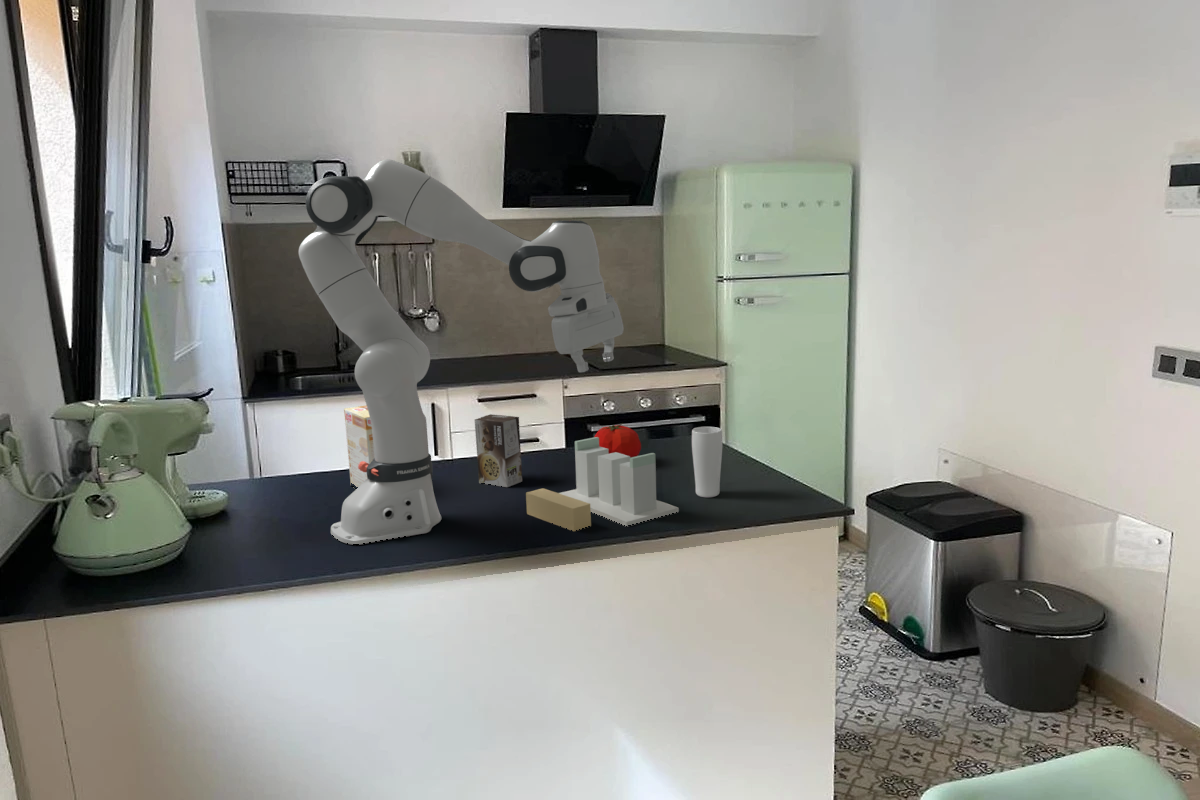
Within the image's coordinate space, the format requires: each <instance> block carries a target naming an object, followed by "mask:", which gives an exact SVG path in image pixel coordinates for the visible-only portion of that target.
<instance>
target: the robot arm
mask: <svg viewBox="0 0 1200 800" xmlns="http://www.w3.org/2000/svg"><path fill="white" fill-rule="evenodd" d="M305 209H306V212H307V215H308V216H309V218H310V220H311V222H313V224H314V225H315V226H316V228H315V230H314V231H313V232H312V233H310V234H309V235H307V236H306V237H305V238H304V239H303V240H302V242H301V243H300V245H299V247H298V257H299V260H300V262H301V266H302V268H303V270H304V273H305V274H306V277H307V278H308V281H309V283H310V284H311V286H312V288H313V290H314V291H315V294H316V295H317V296H318V298H319V299H320V301H321V303H322V305H323V306H324V307H325V309H326V310H327V312H328V314H329V315H330V317H331V319H333V321H334V323H335V325H336V327H337V328H338V330H340V331H341V332H342V333H343V334H344V335H346V336H347V337H349V339H351V341H353V343H354V344H356V346H357V347H358V348H359V349H360V350H361V351H362V353H361V355H360V356H359V358H358V359H357V361H356V363H355V367H354V379H355V381H356V383H357V386H358V387H359V388H360V390H362V394H363V397H364V398H363V399H364V401H365V404H366V405H367V408H368V412H369V415H370V420H371V425H372V434H373V445H374V456H375V458H374V459H373V461H372V462H371V463H370V464H368V463H366V462H365V461H362V462H360V464H358V469H360V470H361V471H363V472H367V479H366V480H365V481H364V482H363V483H362V484H361V485H360V486H359V487H358V488H357V489H355V490H354V491H352V493H350V494H349V495H348V496H347V497H346V498H345V499H344V501H343V502H342V505H341V515H340V521H338V522H335V523H333V524H332V525H331V526H330V534H331V536H332V535H333V536H334V537H333V536H332V537H333V538H334V539H336V540H337V539H338V540H337V541H340V542H341V543H344V544H347V543H348V545H353V544H359V545H364V544H363V543H365V544H369V542H371V543H376V542H375V541H377V542H381V541H380V540H383V541H387V540H386V539H388V540H392V538H394V539H399V538H398V537H400V538H403V537H404V536H406V537H410V536H416V535H421V534H422V535H423V534H427V533H430V532H431V531H432V528H433V527H434V526H436V525H437V524H439V523H440V522H441V520H442V515H441V514H440V510H439V508H438V504H437V501H436V496H435V493H434V487H433V481H432V480H433V462H432V455H431V453H430V452H429V440H428V439H429V437H428V424H427V418H426V415H425V413H424V412H423V408H422V404H421V401H420V397H419V394H418V393H419V392H418V387H417V386H418V385H417V384H418V383H419V382H420V381H421V380H423V379H424V377H425V376H426V375H427V373H428V370H429V367H430V363H431V354H430V350H429V348H428V346H427V345H426V344H425V343H424V341H423V340H421V339H420V338H418V337H417V335H416V334H415V332H413V330H412V329H411V328H410V327H409V325H408V324H407V323H406V321H405V320H404V319H403V318H402V317H401V316H400V315H399V314H398V313H397V311H396V310H395V308H393V307H392V305H391V304H390V303H389V301H388V300H387V299H386V297H385V295H384V294H383V291H382V290H381V289H380V287H379V285H378V284H377V283H376V280H374V278H373V276H372V275H371V273H370V272H369V270H368V268H367V267H366V265H365V264H364V262H363V260H362V259H361V257H360V256H359V253H358V251H357V248H356V245H358V244H359V243H360V242H361V241H362V240H363V239H364V237H366V235H367V234H368V233H369V232H370V231H371V229H372V228H374V227H375V225H376V223H377V221H378V219H379V216H383V217H387V218H390V219H391V220H394V221H395V222H397V223H400V224H401V225H403V226H404V227H406V228H408V229H410V230H411V231H413V232H416V233H417V234H421V235H422V236H425V237H428V238H430V239H434V240H436V241H440V242H441V241H442V242H450V243H451V242H452V243H458V244H459V243H460V244H464V245H468V246H470V247H473V248H475V249H478V250H480V251H481V252H483V253H485V254H487V255H489V256H490V257H492V258H494V259H496V260H498V261H499V262H502V263H503V264H506V265H507V266H508V271H509V272H508V273H509V276H510V279H511V280H512V282H513V283H514V284H515V285H516V286H517V287H518V288H519V289H521V290H523V291H526V292H530V293H535V292H536V293H538V292H542V291H545V290H547V289H549V288H551V287H553V286H555V285H559V288H560V289H559V290H560V293H561V294H560V295H558V297H557V298H556V299H555V300H554V301H553V302H552V303H551V304H549V306H548V307H547V311H548V315H549V316H550V317H551V318H552V319H551V331H552V338H553V343H554V346H555V349H556V351H557V353H558V354H559V355H568V354H569V355H570V357H571V359H572V360H573V362H574V363H575V365H576V369H577V373H586V372H588V371H589V363H588V361H586V360H585V359H584V357H583V355H584V351H583V350H584V349H587V348H590V347H592V346H595V345H598V344H601V343H602V344H603V345H604V348H603V353H601V354H602V355H601V356H602V358H603V359H602V360H603V362H605V363H606V362H612V361H613V360H614V358H615V357H614V356H615V355H614V350H615V349H614V348H615V343H616V342H615V338H616V337H620V336H622V335H623V333H624V330H625V329H624V322H623V319H622V314H621V311H620V308H619V305H618V303H617V302H616V300H615V297H614V296H613V295H612V294H610V293H609V292H606V289H605V283H604V278H603V276H602V274H601V272H600V271H601V270H600V262H601V261H600V255H599V249H598V245H597V241H596V237H595V234H594V231H593V229H592V227H591V226H590V224H588V223H587V222H585V221H583V220H571V219H570V220H568V219H567V220H562V219H561V220H555V221H554V222H552V224H551V225H550V226H549V227H548V228H547V229H546V230H545V231H544V232H542V233H541V234H540V235H538V236H537V237H535V238H534V239H532V240H529V239H525V238H522V237H520V236H518V235H516V234H515V233H512V232H510V231H509V230H507V229H505V228H503V227H502V226H500V225H498V224H496V223H494V222H492V221H491V220H490V219H487V218H485V216H482V215H481V214H480V212H478V211H477V210H476V209H474V208H473V207H472V206H471V205H469V203H468V202H467V201H466V200H464V199H463V198H462V197H461V196H460V195H458V194H457V193H456V192H455V191H453V190H452V189H451V188H449V187H448V186H447V185H445V184H444V183H442V182H441V181H439V180H438V179H436V178H434V177H432V176H431V175H428V174H427V173H425V172H423V171H421V170H419V169H417V168H415V167H412V166H410V165H407V164H405V163H402V162H399V161H396V160H393V159H383V160H380V161H378V162H377V163H375V164H374V165H373V166H372V167H371V169H370V170H369V171H368V173H367V175H366V176H365V178H363V179H362V178H361V177H359V176H357V175H355V176H354V175H353V176H352V175H351V176H347V175H344V176H342V175H340V176H339V175H336V176H335V175H334V176H328V177H324V178H321V179H318V180H317V181H316V182H314V183H313V184H312V185H311V186H310V188H309V189H308V192H307V194H306V198H305ZM366 405H365V406H366Z"/></svg>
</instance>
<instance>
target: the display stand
mask: <svg viewBox="0 0 1200 800" xmlns="http://www.w3.org/2000/svg"><path fill="white" fill-rule="evenodd" d="M574 455H575V457H574V459H575V460H574V461H575V485H576V488H575V489H574V488H573V489H571V490H567V491H566V490H565V491H562V492H558V493H559V494H562V495H565V496H568V497H571V498H574V499H577V500H580V501H583V502H586V503H590V510H591V512H592V514H594V513H595V515H596V514H597V516H599V515H600V516H599V517H601V516H603V517H602V518H604V517H605V518H604V519H606V518H607V519H606V520H609V519H610V520H609V521H611V520H612V521H611V522H614V521H615V522H614V523H616V522H617V524H619V523H620V524H619V525H621V524H622V526H624V525H625V526H624V527H626V526H627V527H629V526H628V525H631V526H633V525H632V524H634V525H637V524H636V523H638V524H641V523H640V522H642V523H644V522H643V521H645V522H648V521H647V520H649V521H651V520H650V519H652V520H655V519H654V518H656V519H659V518H662V517H661V516H663V517H666V516H665V515H667V516H669V514H670V515H673V514H672V513H674V514H677V513H679V511H680V509H679V507H677V506H675V505H672V504H669V503H667V502H664V501H661V500H658V499H657V471H656V469H657V468H656V467H657V466H656V464H657V463H656V453H654V452H650V453H646V454H642V455H640V454H639V455H638V456H636V457H631V458H630V456H627V455H624V454H620V453H617V452H615V453H610V454H609V452H608V449H607V448H603V447H600V446H599V438H598V437H589V438H584V439H580V440H575V441H574ZM676 512H677V513H676ZM658 517H659V518H658Z"/></svg>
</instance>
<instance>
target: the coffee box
mask: <svg viewBox="0 0 1200 800" xmlns="http://www.w3.org/2000/svg"><path fill="white" fill-rule="evenodd" d="M474 431H475V445H476V458H477V459H476V460H477V472H478V483H479V484H481V483H485V484H484V485H488V484H491V485H490V486H495V485H496V486H495V487H501V486H502V487H501V488H509V487H511V486H514V485H517V484H519V483H521V482H523V470H522V469H523V468H522V452H521V451H522V450H521V434H520V416H513V415H512V416H511V415H503V414H502V415H501V414H491V413H490V414H487V415H484V416H481V417H478V418H476V419H474Z"/></svg>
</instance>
